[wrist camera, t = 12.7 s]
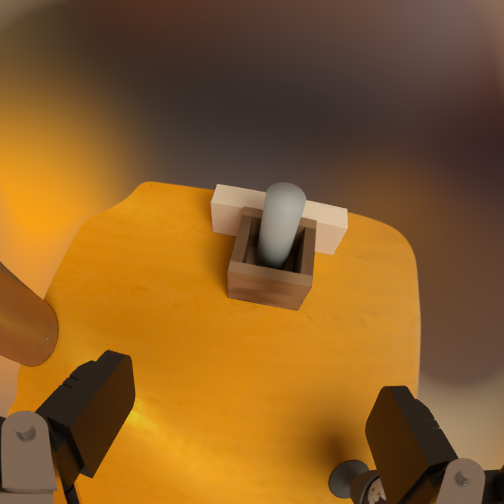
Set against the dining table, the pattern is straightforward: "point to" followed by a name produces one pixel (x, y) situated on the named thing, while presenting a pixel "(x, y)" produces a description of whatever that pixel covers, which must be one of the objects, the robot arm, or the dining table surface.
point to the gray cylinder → (279, 224)
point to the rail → (234, 199)
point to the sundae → (357, 483)
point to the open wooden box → (267, 279)
